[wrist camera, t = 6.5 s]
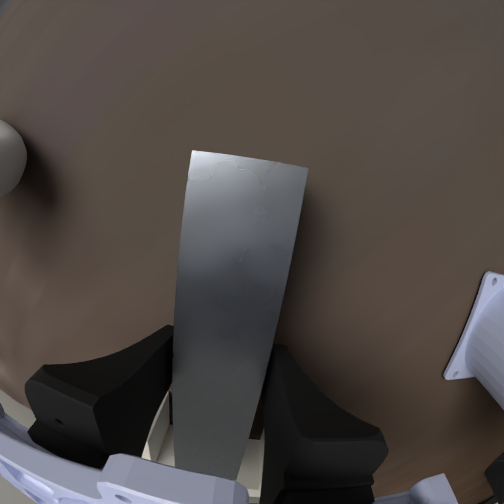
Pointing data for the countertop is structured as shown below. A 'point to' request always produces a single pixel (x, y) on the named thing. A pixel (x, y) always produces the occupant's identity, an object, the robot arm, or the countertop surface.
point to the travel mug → (497, 478)
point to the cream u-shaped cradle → (163, 451)
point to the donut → (10, 158)
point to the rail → (228, 301)
